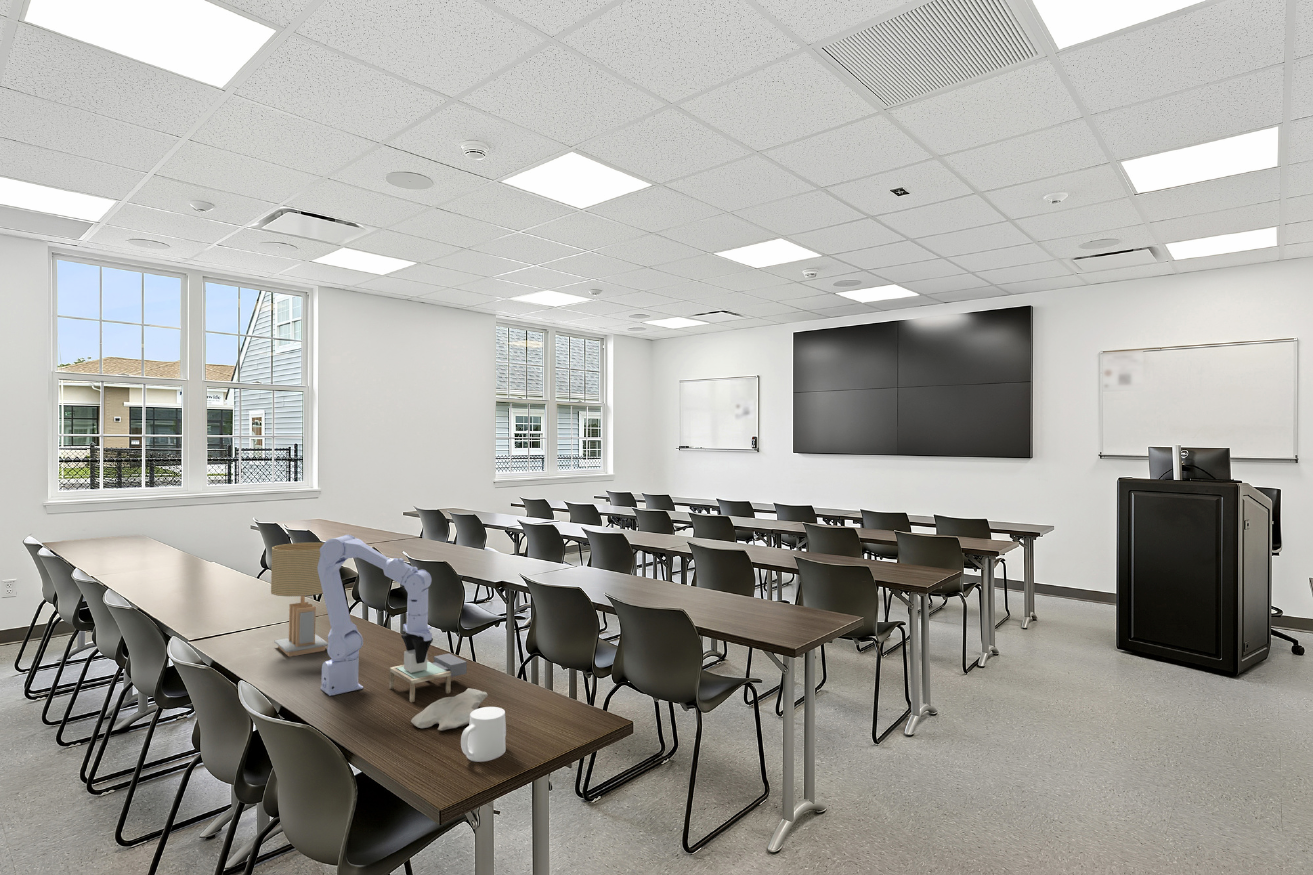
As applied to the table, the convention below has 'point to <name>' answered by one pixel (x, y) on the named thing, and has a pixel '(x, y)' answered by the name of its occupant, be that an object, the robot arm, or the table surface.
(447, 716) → the rock
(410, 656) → the white cube
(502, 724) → the mug
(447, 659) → the trapdoor
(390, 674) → the trapdoor frame
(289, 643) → the desk lamp
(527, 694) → the table surface
